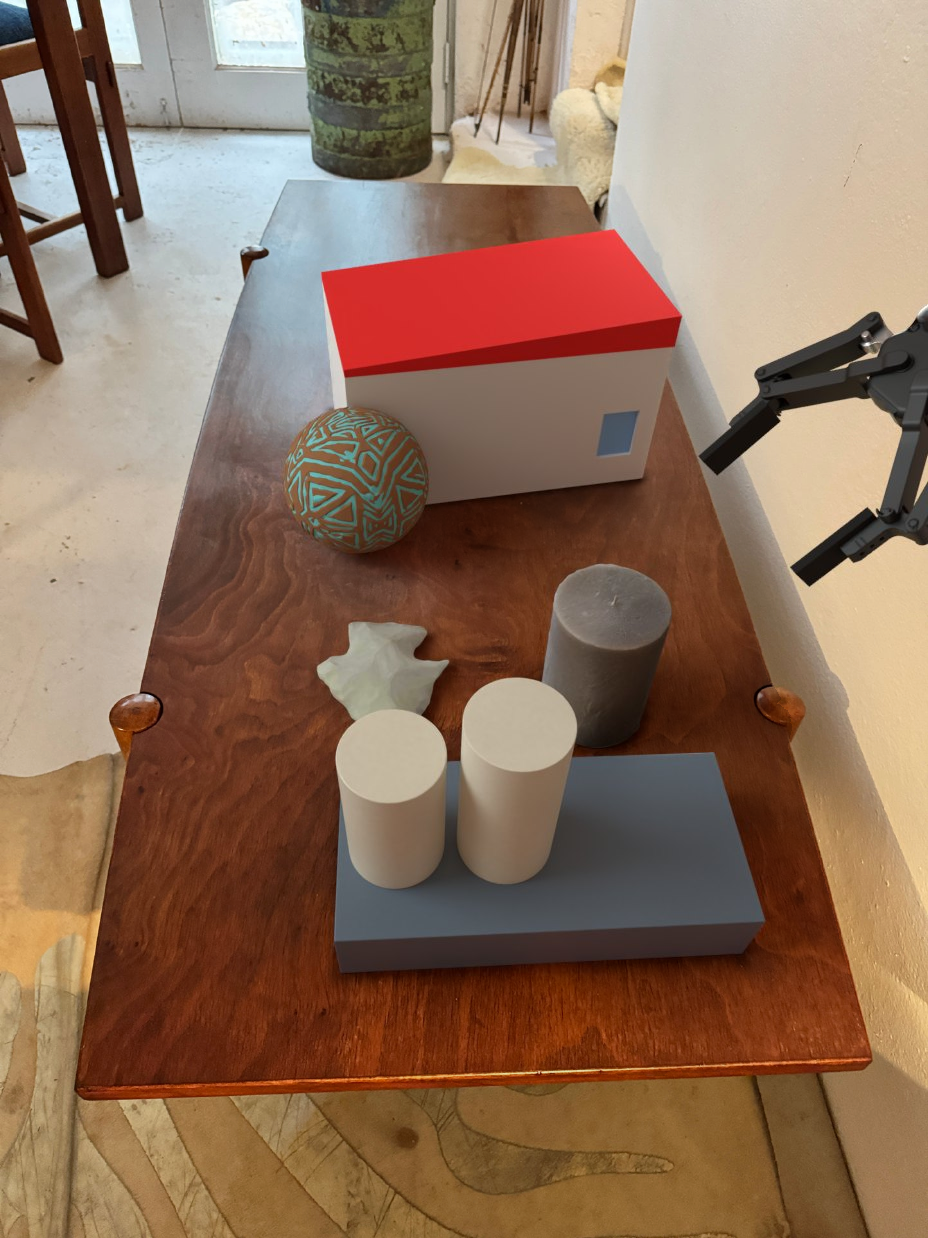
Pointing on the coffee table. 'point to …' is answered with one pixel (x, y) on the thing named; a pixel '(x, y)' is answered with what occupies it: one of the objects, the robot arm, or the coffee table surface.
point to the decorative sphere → (356, 479)
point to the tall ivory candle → (512, 777)
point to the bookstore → (508, 360)
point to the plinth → (573, 880)
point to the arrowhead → (381, 670)
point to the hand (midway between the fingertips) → (750, 518)
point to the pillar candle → (606, 649)
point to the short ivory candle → (393, 796)
